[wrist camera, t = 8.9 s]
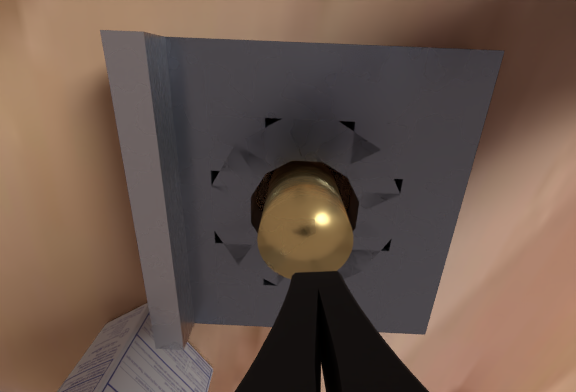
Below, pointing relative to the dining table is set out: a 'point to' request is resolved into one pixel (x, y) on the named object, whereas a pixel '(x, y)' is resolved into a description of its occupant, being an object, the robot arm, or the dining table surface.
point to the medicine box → (136, 361)
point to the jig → (282, 149)
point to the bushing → (304, 221)
